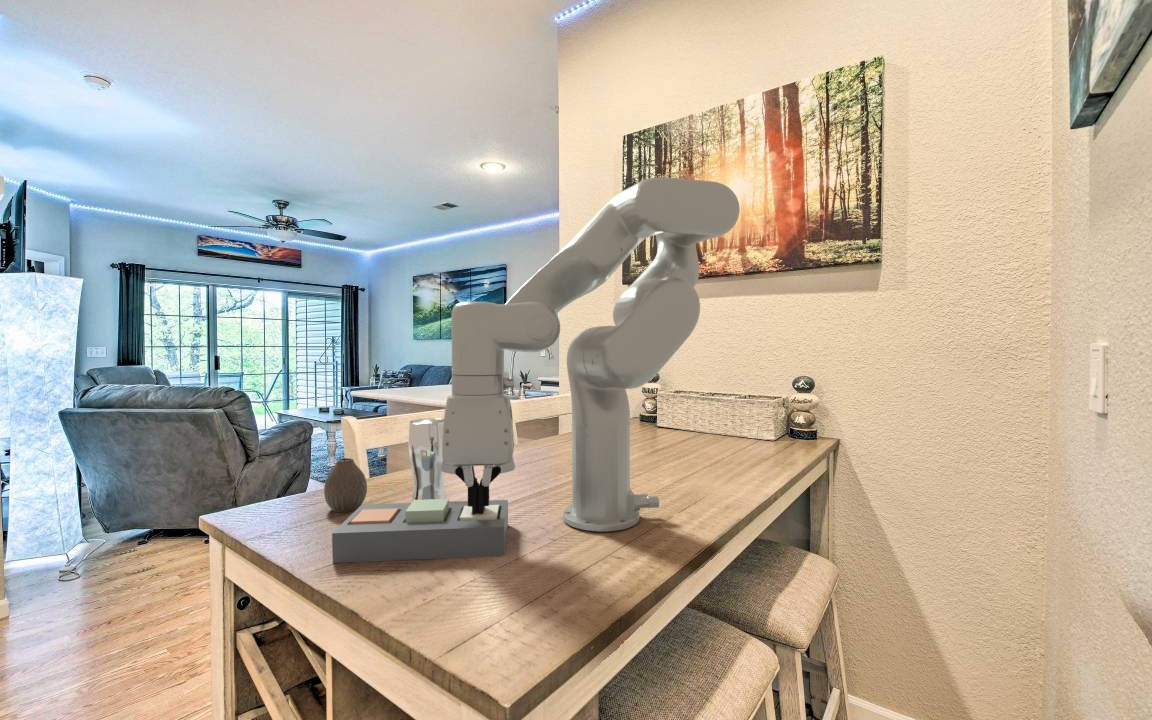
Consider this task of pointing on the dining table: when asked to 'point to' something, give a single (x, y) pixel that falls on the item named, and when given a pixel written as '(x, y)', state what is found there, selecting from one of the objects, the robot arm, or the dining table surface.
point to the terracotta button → (375, 516)
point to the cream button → (489, 514)
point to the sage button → (428, 510)
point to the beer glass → (427, 458)
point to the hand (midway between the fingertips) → (478, 510)
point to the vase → (345, 486)
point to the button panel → (420, 536)
